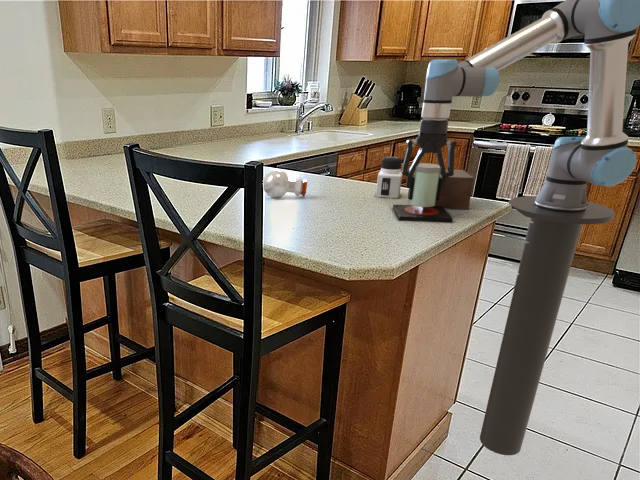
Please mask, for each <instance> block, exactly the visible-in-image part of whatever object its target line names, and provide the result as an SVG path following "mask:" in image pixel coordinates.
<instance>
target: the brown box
mask: <svg viewBox="0 0 640 480" xmlns="http://www.w3.org/2000/svg"><path fill="white" fill-rule="evenodd" d="M445 170H446V172H448V168H447V169H446V168H445ZM439 177H441V174H440V176H439ZM474 180H475V177H474V176H472V175H471V174H470V173H468V172H467V171H466V170H464V169H454V175H453V176H449V177H447V178H446V182H445V188H444V189H441V191H440V198H439V201H436V202H435V206H442V207H443V208H444V209H445V210H469V209H470V203H471V197H472V191H473V187H474Z"/></svg>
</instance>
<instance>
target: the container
mask: <svg viewBox="0 0 640 480" xmlns="http://www.w3.org/2000/svg"><path fill="white" fill-rule="evenodd" d="M402 162H403V160H402V158H401V157H398V156H385V157H383V158H382V159H381V164H380V165H381V167H380V171H378V173H377V179H376V190H375V196H376V198H388V199H389V198H390V199H399V198H400V194H401V187H402V179H403V174H402V173H401V170H402V164H403V163H402Z"/></svg>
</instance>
